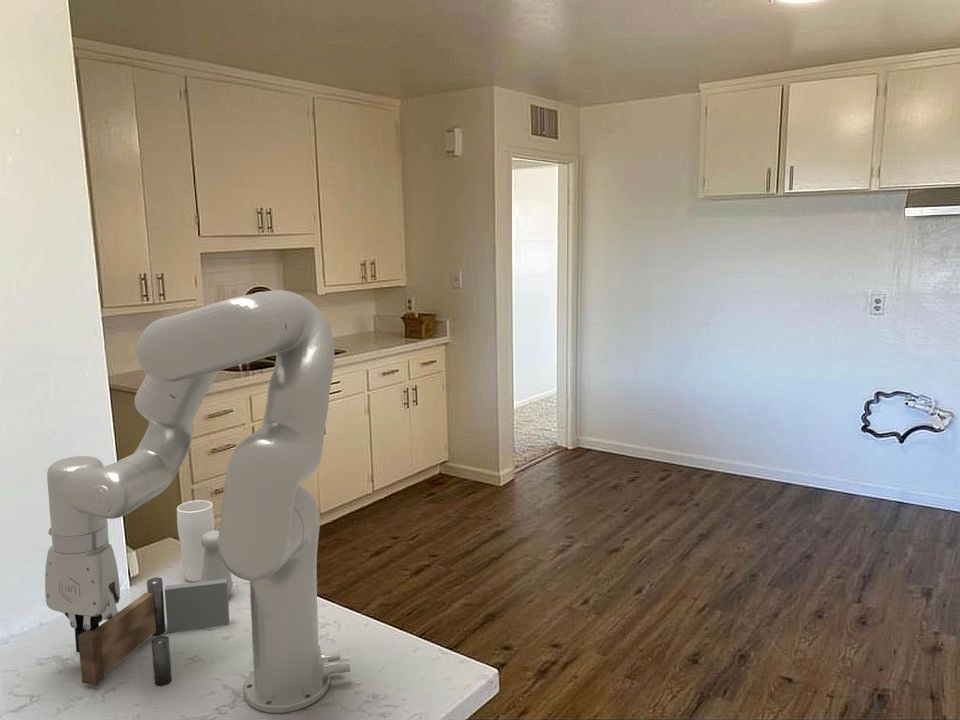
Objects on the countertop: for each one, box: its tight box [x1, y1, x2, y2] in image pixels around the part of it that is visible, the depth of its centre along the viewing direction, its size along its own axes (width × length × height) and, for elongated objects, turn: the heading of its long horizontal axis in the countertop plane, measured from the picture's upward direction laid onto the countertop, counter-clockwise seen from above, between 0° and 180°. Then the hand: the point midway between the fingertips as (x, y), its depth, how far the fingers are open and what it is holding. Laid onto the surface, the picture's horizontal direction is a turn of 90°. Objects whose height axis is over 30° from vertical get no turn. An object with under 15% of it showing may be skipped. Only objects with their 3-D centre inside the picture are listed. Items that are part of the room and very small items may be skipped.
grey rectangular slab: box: [164, 579, 230, 634], centre depth 126 cm, size 10×2×8 cm, turn 106°
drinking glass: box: [176, 499, 215, 583], centre depth 144 cm, size 7×7×15 cm
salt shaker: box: [200, 529, 234, 597], centre depth 136 cm, size 6×6×13 cm
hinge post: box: [146, 577, 167, 637], centre depth 124 cm, size 2×2×10 cm
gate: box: [78, 592, 156, 686], centre depth 116 cm, size 15×2×8 cm, turn 168°
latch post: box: [151, 634, 173, 687], centre depth 110 cm, size 2×2×7 cm
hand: (88, 648), depth 114 cm, fingers closed
